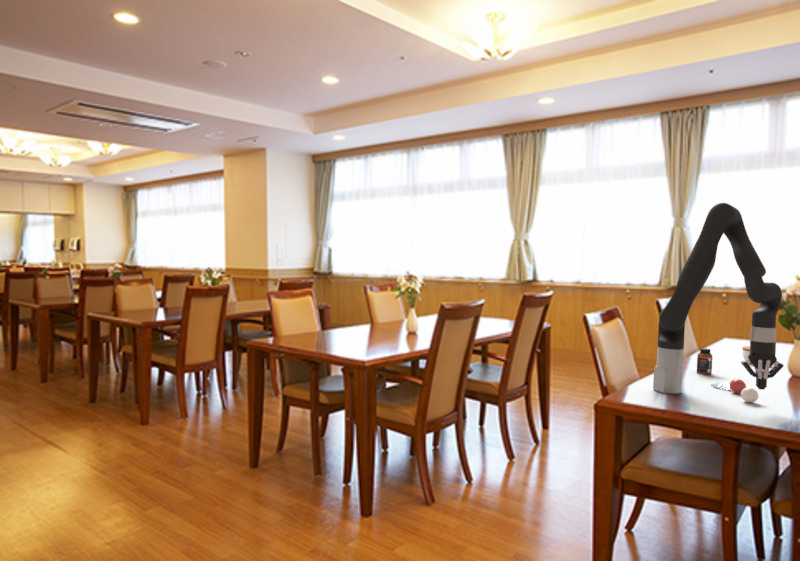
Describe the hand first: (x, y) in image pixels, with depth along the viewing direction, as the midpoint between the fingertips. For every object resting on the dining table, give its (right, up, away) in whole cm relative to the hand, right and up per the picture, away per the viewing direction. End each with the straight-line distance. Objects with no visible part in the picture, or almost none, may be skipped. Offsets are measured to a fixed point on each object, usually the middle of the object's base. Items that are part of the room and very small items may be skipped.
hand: (761, 388), depth 195 cm
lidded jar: (+51, -4, +84) cm, 98 cm away
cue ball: (+2, -4, +9) cm, 10 cm away
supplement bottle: (+11, -4, +57) cm, 58 cm away
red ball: (+6, -3, +23) cm, 23 cm away
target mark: (+8, -6, +31) cm, 33 cm away
